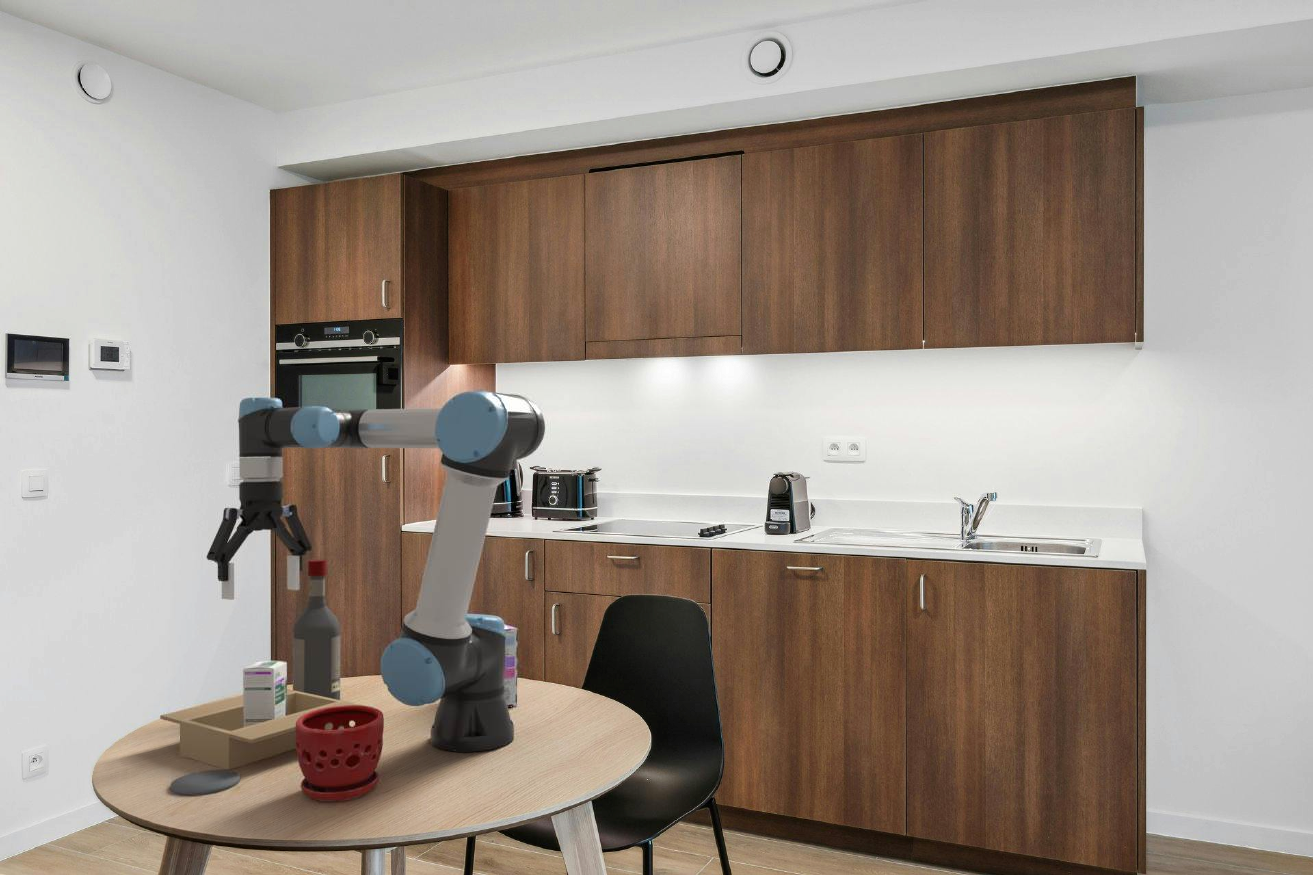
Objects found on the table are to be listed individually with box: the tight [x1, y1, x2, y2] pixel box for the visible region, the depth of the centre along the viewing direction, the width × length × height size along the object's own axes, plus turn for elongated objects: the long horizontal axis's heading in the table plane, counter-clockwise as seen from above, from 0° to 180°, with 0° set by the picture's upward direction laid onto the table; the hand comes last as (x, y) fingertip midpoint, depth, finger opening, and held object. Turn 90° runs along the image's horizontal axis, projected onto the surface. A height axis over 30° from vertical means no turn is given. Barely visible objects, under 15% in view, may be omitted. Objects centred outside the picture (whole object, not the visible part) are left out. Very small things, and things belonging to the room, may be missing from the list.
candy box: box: [504, 623, 519, 708], centre depth 201 cm, size 14×6×16 cm, turn 34°
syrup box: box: [242, 660, 288, 727], centre depth 172 cm, size 6×6×14 cm
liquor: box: [292, 559, 342, 700], centre depth 199 cm, size 9×9×30 cm
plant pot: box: [296, 704, 385, 803], centre depth 148 cm, size 13×13×12 cm
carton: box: [159, 688, 366, 770], centre depth 172 cm, size 26×24×6 cm
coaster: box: [170, 769, 241, 796], centre depth 151 cm, size 10×10×1 cm
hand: (261, 594), depth 177 cm, fingers open, 13 cm apart
